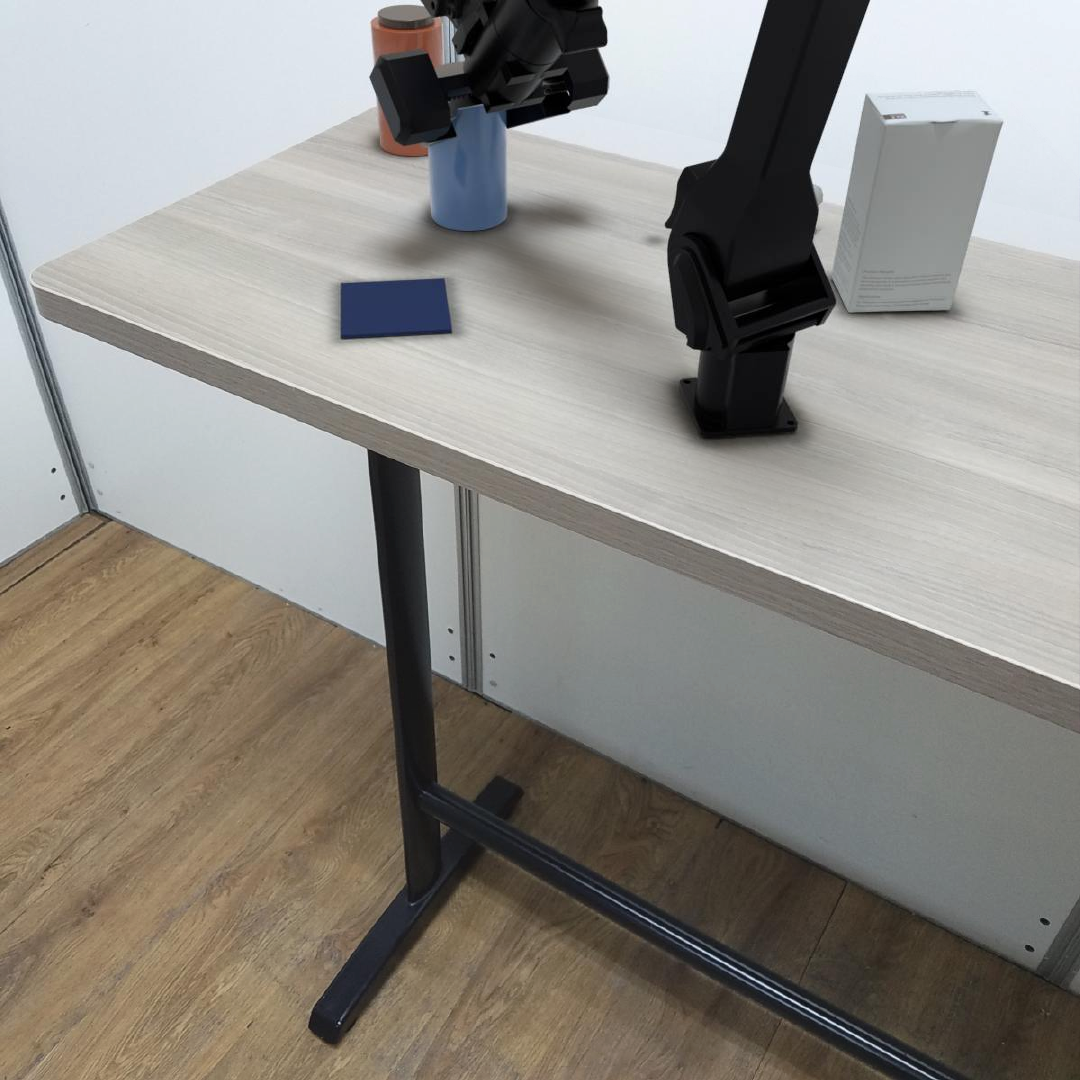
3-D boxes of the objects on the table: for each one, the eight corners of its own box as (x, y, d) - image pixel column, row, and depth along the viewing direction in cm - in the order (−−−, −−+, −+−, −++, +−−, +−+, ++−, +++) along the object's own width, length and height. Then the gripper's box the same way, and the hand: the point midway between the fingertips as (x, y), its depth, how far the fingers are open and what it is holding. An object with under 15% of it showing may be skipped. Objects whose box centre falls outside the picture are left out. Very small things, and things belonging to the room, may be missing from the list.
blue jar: (511, 229, 92) (511, 84, 84) (433, 233, 91) (426, 86, 83) (502, 197, 97) (502, 57, 89) (429, 200, 96) (421, 59, 88)
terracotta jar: (449, 155, 104) (444, 22, 96) (380, 157, 104) (370, 23, 96) (445, 130, 109) (439, 1, 101) (379, 132, 108) (369, 3, 101)
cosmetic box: (927, 278, 87) (980, 87, 77) (952, 315, 82) (1011, 117, 72) (824, 278, 86) (864, 86, 77) (843, 316, 82) (887, 116, 72)
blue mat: (452, 332, 79) (451, 329, 79) (341, 338, 78) (340, 335, 78) (444, 281, 85) (444, 277, 85) (341, 286, 84) (340, 282, 84)
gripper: (597, -93, 80) (518, 27, 94) (369, -66, 73) (320, 61, 87) (652, 47, 80) (565, 147, 95) (430, 90, 73) (372, 191, 87)
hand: (459, 133), depth 91 cm, fingers closed on blue jar, 6 cm apart
